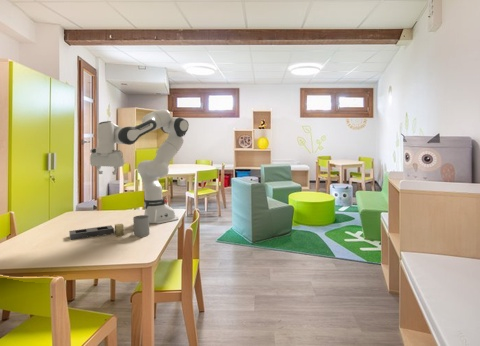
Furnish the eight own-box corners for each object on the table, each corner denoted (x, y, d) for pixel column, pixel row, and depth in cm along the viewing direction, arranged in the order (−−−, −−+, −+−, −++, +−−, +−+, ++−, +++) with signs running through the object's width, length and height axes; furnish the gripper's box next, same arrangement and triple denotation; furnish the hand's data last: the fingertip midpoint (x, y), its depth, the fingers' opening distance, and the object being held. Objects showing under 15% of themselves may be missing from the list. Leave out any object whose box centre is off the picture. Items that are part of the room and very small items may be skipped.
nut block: (122, 233, 191) (122, 223, 191) (124, 235, 188) (123, 225, 187) (115, 235, 189) (114, 224, 188) (116, 236, 186) (116, 226, 185)
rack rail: (111, 230, 199) (111, 225, 198) (114, 233, 192) (113, 228, 191) (69, 236, 188) (69, 230, 187) (70, 240, 181) (70, 234, 180)
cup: (151, 232, 194) (150, 215, 193) (147, 236, 186) (147, 218, 185) (136, 232, 194) (135, 215, 193) (132, 236, 185) (131, 218, 184)
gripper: (125, 149, 192) (126, 174, 194) (95, 149, 198) (96, 173, 200) (118, 150, 186) (119, 175, 188) (87, 150, 192) (88, 174, 194)
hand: (107, 174), depth 194 cm, fingers open, 8 cm apart
